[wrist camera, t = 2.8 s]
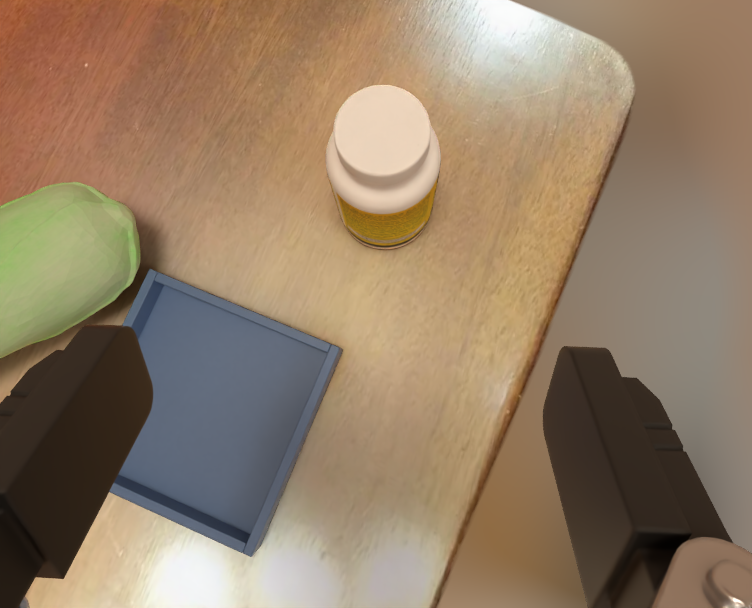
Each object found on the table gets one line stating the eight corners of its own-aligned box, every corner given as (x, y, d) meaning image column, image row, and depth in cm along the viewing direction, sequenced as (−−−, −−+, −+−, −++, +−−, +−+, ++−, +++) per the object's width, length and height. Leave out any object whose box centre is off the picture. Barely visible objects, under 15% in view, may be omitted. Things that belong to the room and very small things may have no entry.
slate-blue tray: (343, 349, 35) (340, 347, 33) (260, 546, 33) (251, 557, 31) (163, 275, 36) (149, 268, 34) (74, 461, 34) (53, 466, 32)
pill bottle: (448, 222, 36) (473, 151, 25) (368, 268, 35) (357, 216, 24) (401, 147, 37) (405, 47, 26) (323, 191, 36) (293, 108, 25)
